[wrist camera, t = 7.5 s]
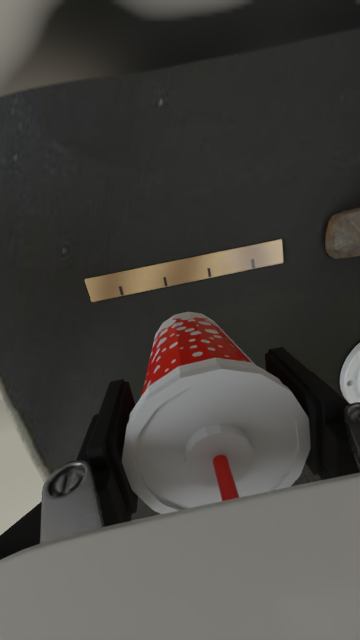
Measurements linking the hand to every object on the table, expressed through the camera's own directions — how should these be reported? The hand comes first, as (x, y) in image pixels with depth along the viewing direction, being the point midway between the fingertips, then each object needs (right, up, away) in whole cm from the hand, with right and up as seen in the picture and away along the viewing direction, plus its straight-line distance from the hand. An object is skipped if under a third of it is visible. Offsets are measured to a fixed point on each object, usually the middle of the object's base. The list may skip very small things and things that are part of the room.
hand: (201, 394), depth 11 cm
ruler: (0, +9, +17) cm, 19 cm away
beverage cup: (0, +2, +6) cm, 6 cm away
